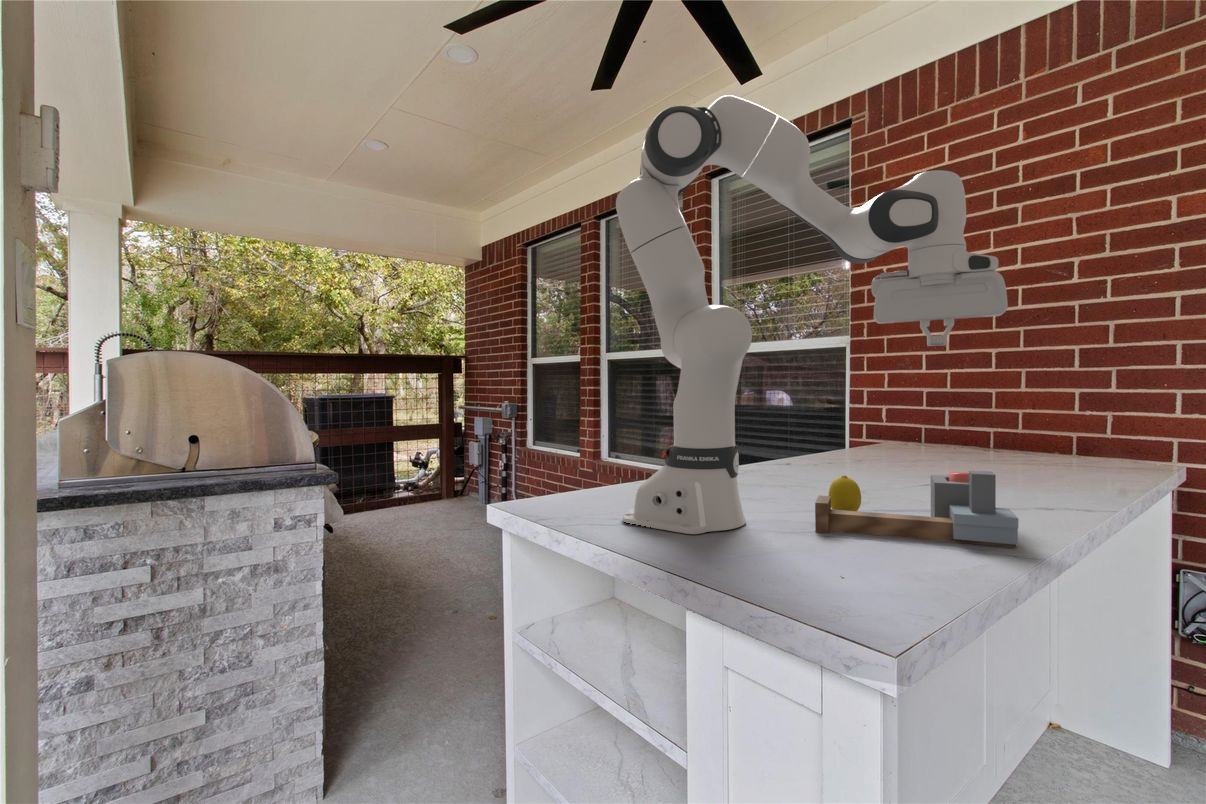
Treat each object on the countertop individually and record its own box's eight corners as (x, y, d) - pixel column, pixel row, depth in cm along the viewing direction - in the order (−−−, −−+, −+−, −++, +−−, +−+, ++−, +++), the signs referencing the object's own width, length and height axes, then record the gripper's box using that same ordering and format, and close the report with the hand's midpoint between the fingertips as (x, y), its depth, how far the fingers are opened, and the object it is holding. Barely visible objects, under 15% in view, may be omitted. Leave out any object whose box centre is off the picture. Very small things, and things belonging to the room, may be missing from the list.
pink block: (950, 509, 94) (950, 474, 94) (948, 505, 97) (948, 471, 97) (971, 510, 93) (971, 475, 93) (968, 506, 96) (968, 472, 95)
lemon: (864, 522, 99) (864, 478, 99) (831, 522, 100) (831, 477, 100) (857, 515, 104) (856, 472, 104) (825, 514, 105) (825, 472, 105)
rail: (815, 531, 94) (815, 502, 94) (818, 523, 99) (818, 495, 99) (1018, 550, 82) (1018, 516, 81) (1009, 539, 87) (1010, 507, 87)
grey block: (934, 530, 93) (934, 482, 93) (930, 518, 100) (930, 474, 100) (992, 534, 90) (992, 485, 89) (983, 522, 97) (983, 477, 96)
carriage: (954, 539, 85) (953, 474, 85) (949, 529, 91) (949, 468, 90) (1018, 545, 81) (1018, 477, 81) (1009, 533, 87) (1009, 470, 87)
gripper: (870, 270, 100) (871, 348, 100) (1009, 256, 91) (1009, 341, 91) (871, 276, 105) (872, 349, 106) (1002, 263, 96) (1002, 343, 97)
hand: (936, 345), depth 99 cm, fingers closed
